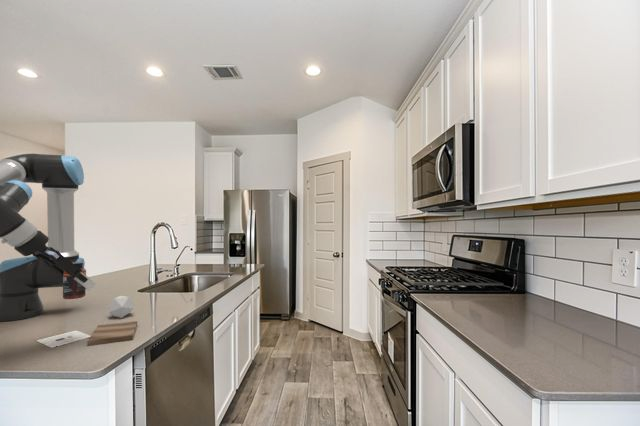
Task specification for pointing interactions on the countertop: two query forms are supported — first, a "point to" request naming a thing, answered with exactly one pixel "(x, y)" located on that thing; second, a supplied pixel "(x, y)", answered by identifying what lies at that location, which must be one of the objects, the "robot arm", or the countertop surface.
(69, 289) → the supplement bottle
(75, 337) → the white tile
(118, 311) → the die
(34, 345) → the countertop surface
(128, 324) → the walnut board
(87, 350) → the countertop surface
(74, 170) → the robot arm
